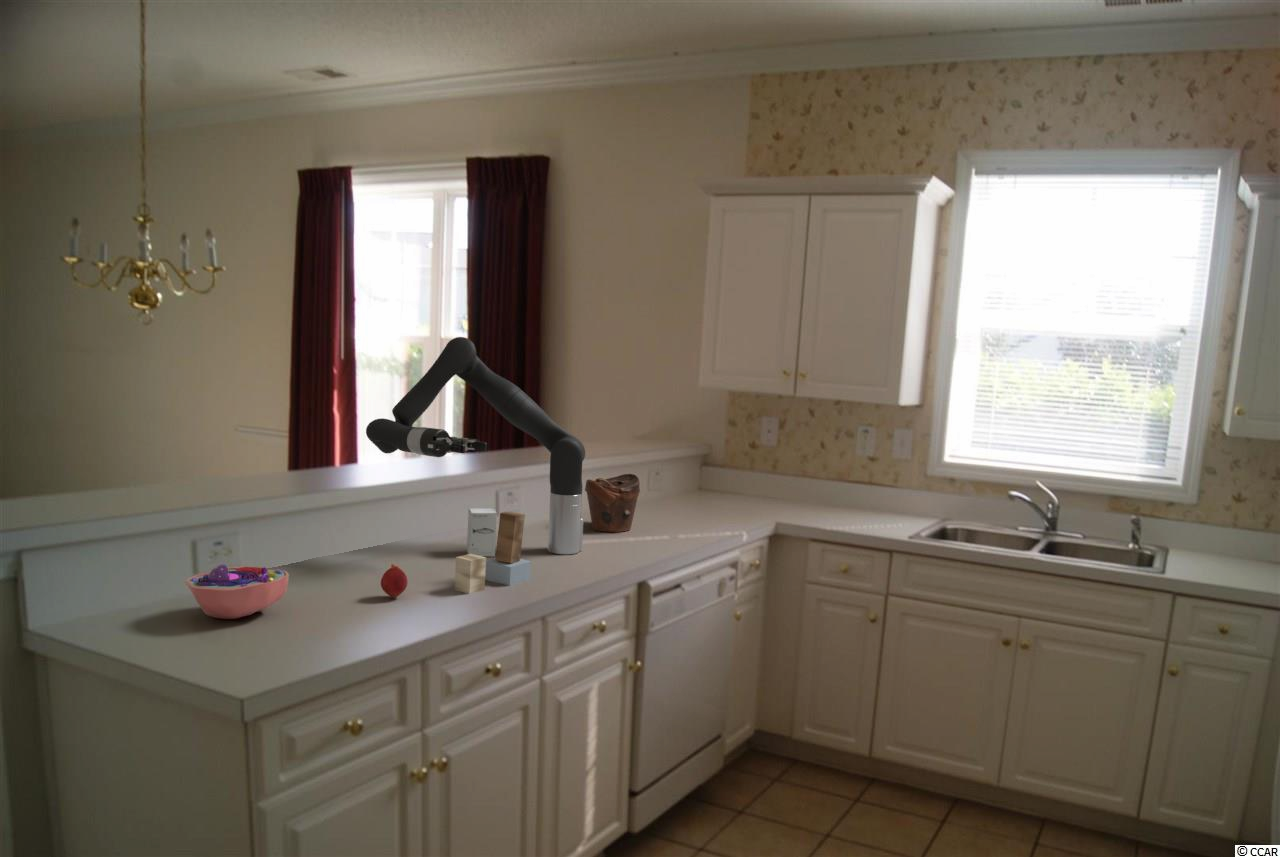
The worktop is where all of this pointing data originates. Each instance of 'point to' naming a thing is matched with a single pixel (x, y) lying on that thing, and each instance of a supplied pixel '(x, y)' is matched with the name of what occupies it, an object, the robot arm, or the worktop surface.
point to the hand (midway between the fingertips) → (475, 447)
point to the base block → (508, 571)
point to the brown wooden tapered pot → (613, 502)
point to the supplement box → (481, 531)
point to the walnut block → (510, 537)
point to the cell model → (237, 590)
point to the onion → (394, 581)
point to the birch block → (470, 573)
